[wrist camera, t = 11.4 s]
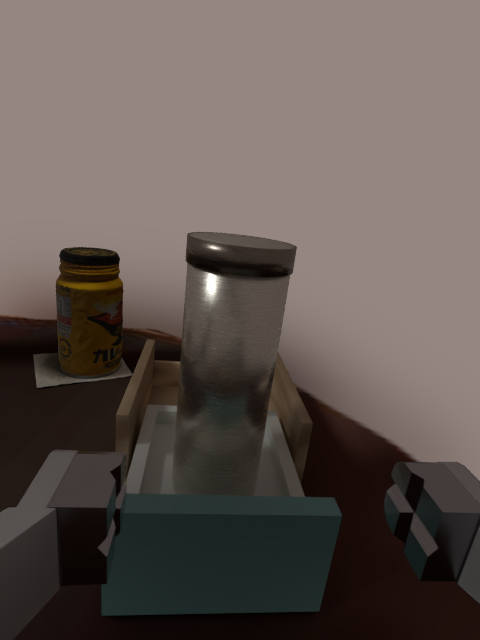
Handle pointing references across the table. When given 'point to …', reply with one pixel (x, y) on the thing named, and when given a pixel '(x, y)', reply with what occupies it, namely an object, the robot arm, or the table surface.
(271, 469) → the tray
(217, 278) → the canister
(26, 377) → the table surface
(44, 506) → the robot arm
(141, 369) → the housing
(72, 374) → the condiment
